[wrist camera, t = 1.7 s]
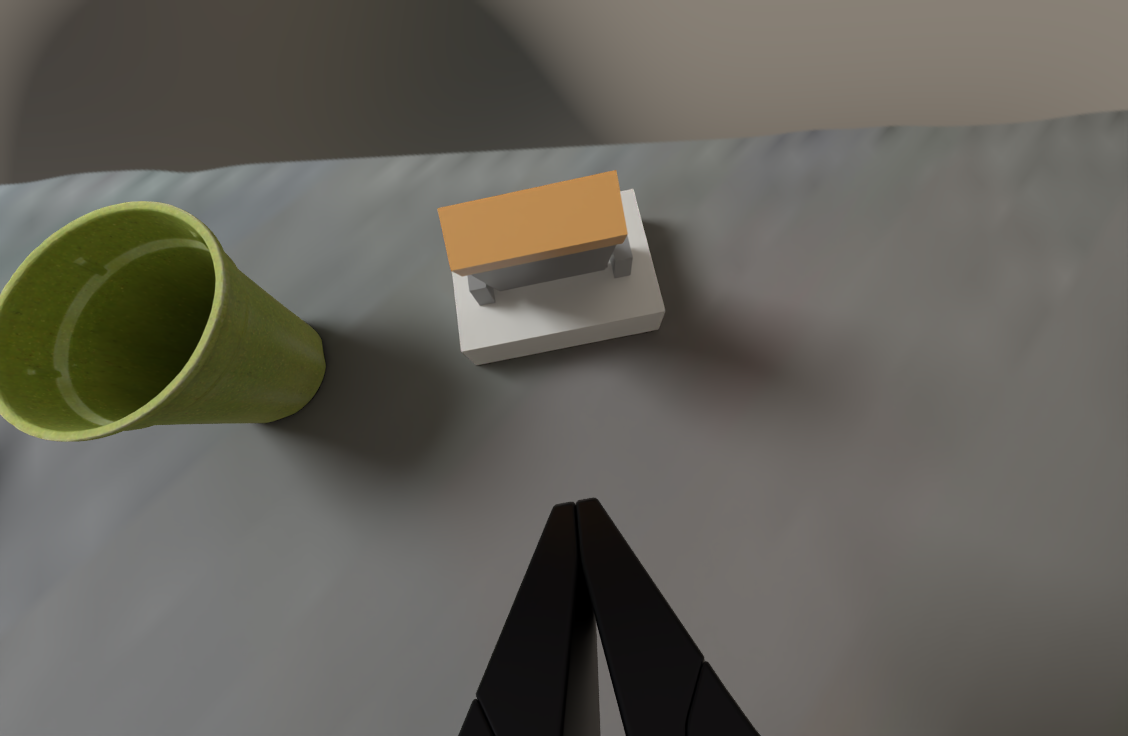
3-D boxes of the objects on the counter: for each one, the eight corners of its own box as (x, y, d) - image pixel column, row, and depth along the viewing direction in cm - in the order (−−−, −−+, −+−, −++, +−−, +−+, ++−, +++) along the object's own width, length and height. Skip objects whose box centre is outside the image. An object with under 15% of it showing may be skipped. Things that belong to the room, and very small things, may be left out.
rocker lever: (607, 275, 20) (631, 233, 12) (500, 297, 20) (447, 271, 12) (600, 238, 20) (619, 169, 12) (492, 261, 20) (434, 209, 12)
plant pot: (387, 329, 24) (270, 247, 15) (296, 484, 22) (106, 488, 13) (262, 272, 25) (95, 171, 17) (168, 411, 23) (-71, 374, 15)
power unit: (658, 329, 22) (671, 295, 18) (476, 365, 22) (448, 340, 18) (630, 217, 24) (635, 165, 20) (462, 253, 24) (434, 207, 20)
